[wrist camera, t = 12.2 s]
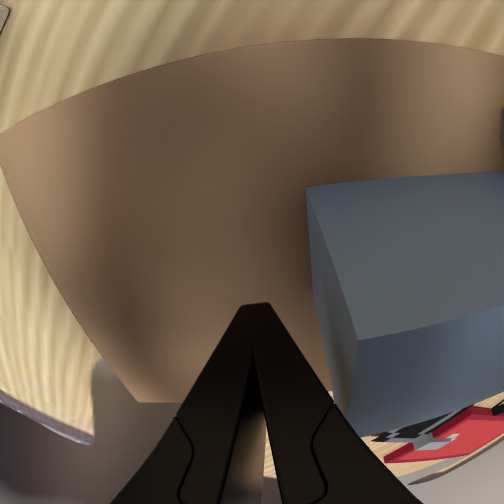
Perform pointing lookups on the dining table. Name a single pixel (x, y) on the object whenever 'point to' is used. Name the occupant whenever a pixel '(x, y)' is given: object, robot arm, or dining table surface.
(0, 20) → the supplement box
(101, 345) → the shelf
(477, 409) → the red board with handle
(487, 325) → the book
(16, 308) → the dining table surface
